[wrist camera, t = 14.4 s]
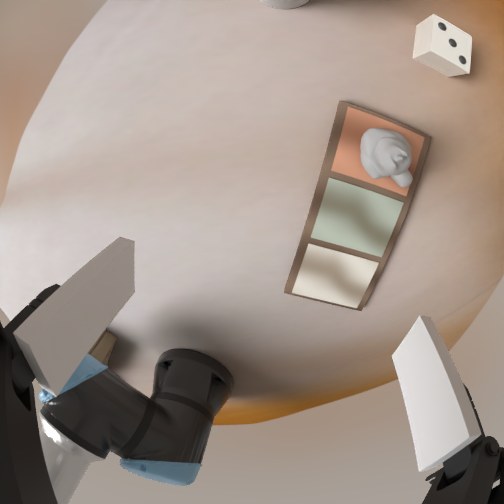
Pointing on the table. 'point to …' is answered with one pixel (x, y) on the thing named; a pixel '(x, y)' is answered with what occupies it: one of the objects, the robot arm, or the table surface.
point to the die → (442, 47)
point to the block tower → (103, 347)
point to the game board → (352, 214)
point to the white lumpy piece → (386, 155)
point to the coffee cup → (284, 3)
